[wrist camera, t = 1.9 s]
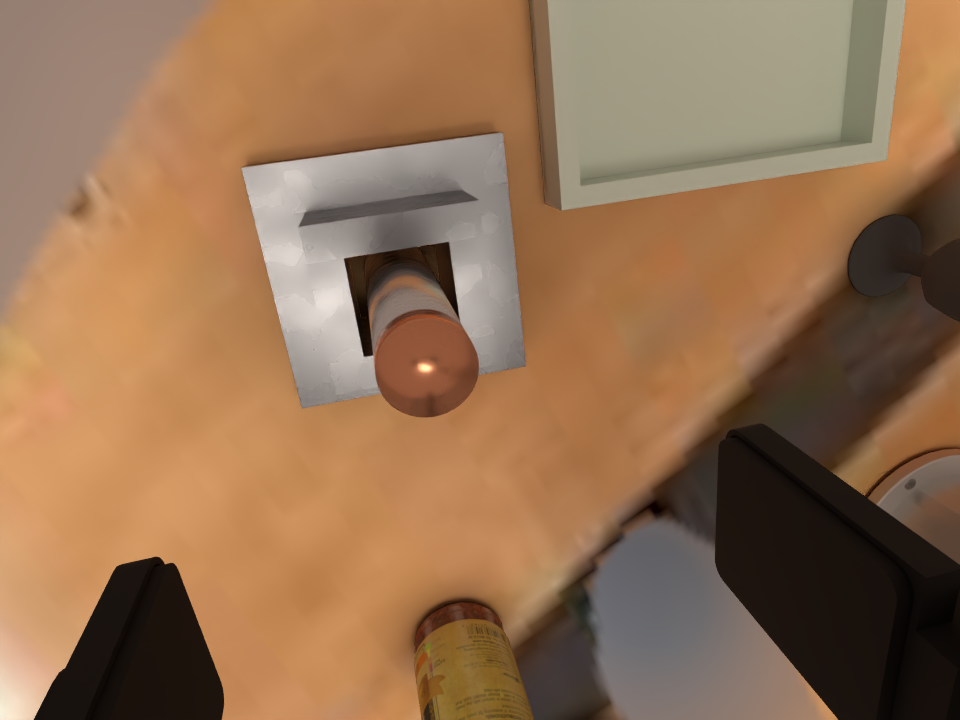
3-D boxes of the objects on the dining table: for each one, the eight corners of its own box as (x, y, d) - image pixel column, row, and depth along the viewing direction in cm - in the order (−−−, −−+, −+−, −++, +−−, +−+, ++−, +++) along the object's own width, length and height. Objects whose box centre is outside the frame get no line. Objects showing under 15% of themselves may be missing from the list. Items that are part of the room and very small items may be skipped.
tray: (875, -140, 30) (925, -164, 27) (847, 157, 35) (886, 160, 32) (520, -111, 27) (538, -135, 25) (544, 203, 32) (561, 210, 30)
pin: (421, 234, 32) (472, 311, 19) (430, 294, 33) (484, 406, 20) (358, 244, 31) (366, 330, 18) (370, 304, 33) (385, 426, 20)
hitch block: (496, 132, 31) (528, 134, 25) (519, 356, 35) (550, 399, 30) (246, 165, 29) (222, 175, 24) (303, 396, 34) (295, 450, 28)
